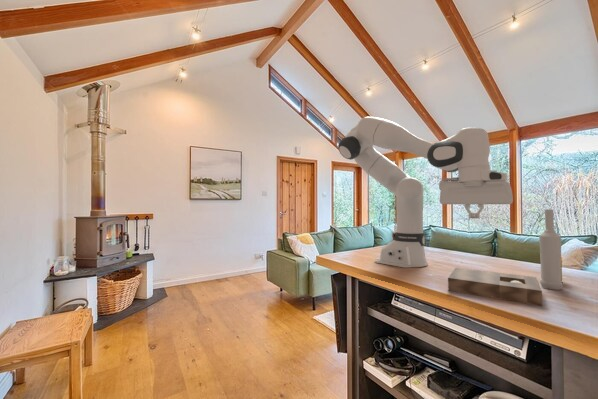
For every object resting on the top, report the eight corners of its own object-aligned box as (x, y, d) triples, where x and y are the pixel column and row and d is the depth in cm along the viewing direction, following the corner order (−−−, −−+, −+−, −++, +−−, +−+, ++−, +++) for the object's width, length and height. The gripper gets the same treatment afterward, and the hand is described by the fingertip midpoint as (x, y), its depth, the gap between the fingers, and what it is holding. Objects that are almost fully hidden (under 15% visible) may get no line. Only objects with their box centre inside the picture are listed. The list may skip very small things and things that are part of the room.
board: (448, 290, 85) (448, 277, 85) (455, 278, 97) (455, 267, 97) (542, 305, 71) (541, 290, 71) (536, 290, 84) (536, 277, 84)
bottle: (562, 287, 86) (560, 209, 87) (562, 291, 83) (560, 209, 83) (541, 284, 90) (538, 209, 90) (540, 287, 86) (537, 209, 87)
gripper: (437, 177, 93) (437, 217, 93) (512, 173, 80) (513, 219, 80) (440, 179, 98) (441, 217, 98) (512, 175, 85) (513, 218, 85)
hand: (474, 218), depth 89 cm, fingers closed
